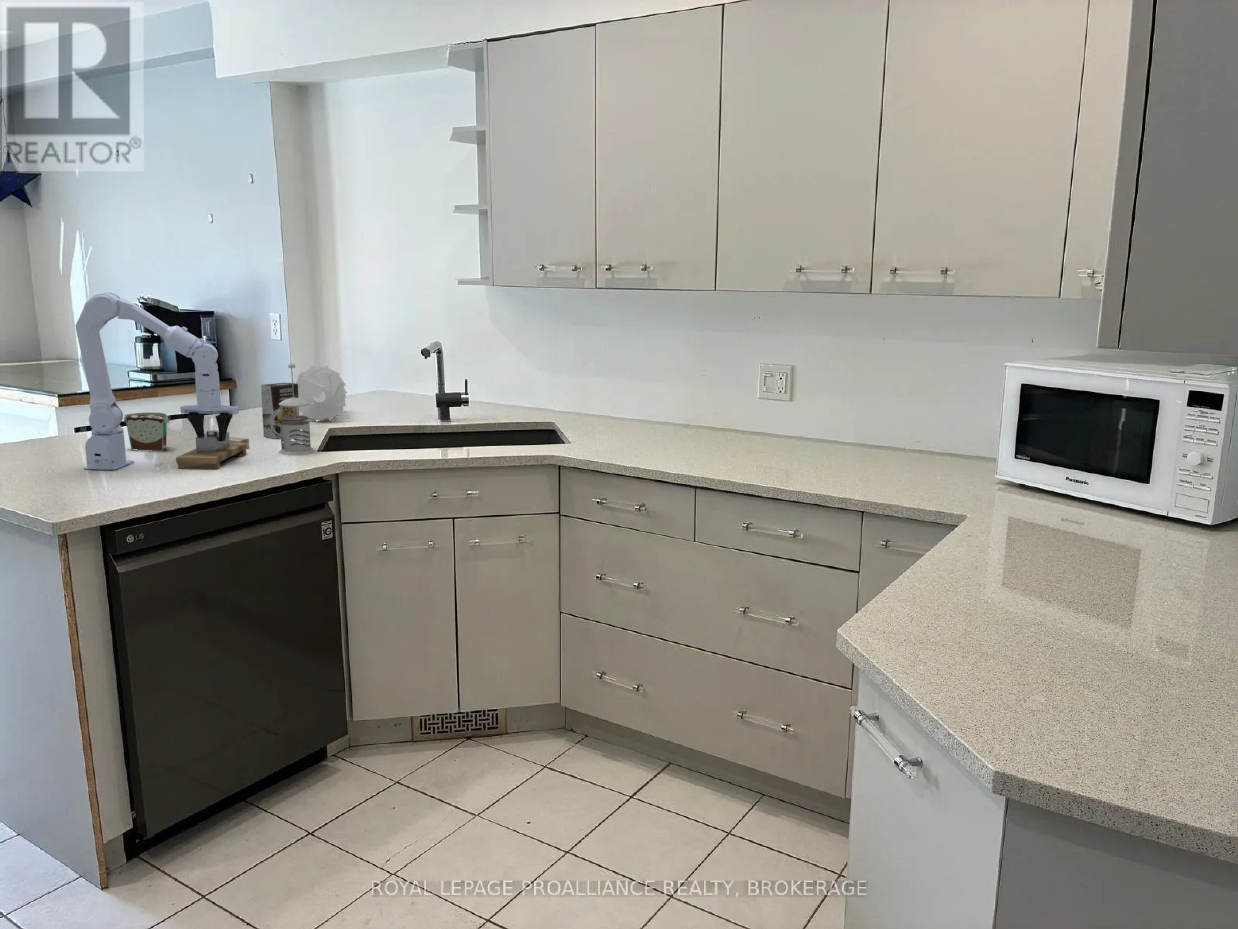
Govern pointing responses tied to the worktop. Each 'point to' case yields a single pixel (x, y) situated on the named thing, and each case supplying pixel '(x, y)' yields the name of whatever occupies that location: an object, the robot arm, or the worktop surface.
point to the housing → (211, 442)
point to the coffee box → (277, 406)
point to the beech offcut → (239, 440)
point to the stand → (209, 457)
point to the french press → (294, 428)
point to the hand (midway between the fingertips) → (212, 440)
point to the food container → (147, 430)
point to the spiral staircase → (321, 393)
